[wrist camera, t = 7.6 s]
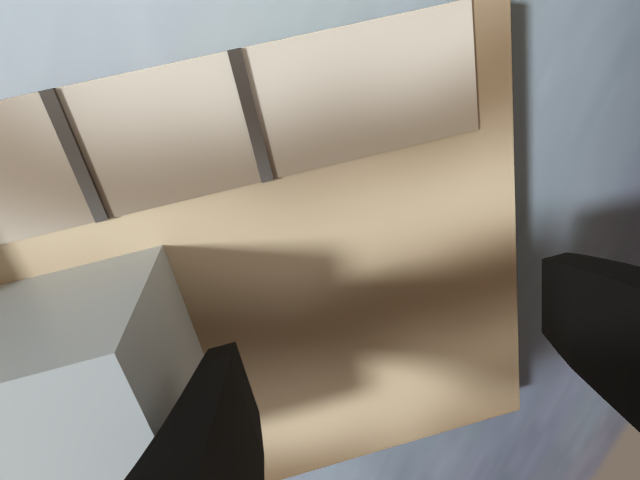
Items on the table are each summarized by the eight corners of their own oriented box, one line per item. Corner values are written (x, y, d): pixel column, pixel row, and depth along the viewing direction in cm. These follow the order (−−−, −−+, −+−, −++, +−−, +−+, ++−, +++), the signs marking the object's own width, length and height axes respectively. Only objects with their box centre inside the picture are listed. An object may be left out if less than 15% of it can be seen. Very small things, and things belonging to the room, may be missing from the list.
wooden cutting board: (501, 386, 16) (523, 414, 15) (-239, 599, 14) (-288, 653, 13) (483, -3, 11) (515, -12, 10) (-670, 247, 9) (-818, 276, 8)
